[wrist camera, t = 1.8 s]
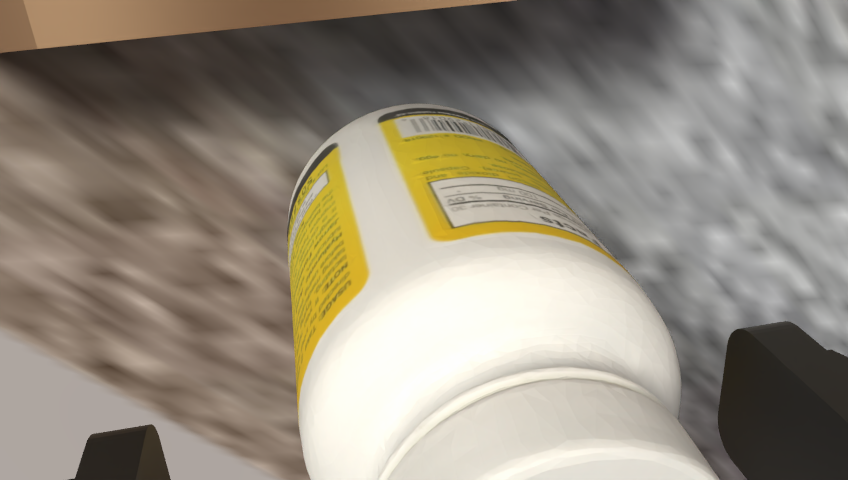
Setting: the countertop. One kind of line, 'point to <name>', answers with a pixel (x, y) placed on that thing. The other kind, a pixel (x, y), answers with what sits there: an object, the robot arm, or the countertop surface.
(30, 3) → the socket block
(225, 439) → the countertop surface
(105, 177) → the countertop surface
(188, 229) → the countertop surface
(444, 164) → the supplement bottle
